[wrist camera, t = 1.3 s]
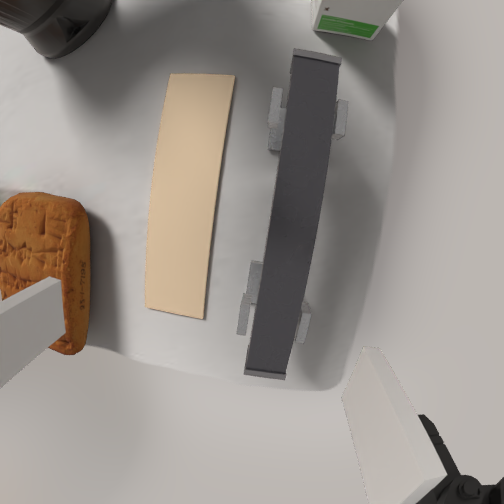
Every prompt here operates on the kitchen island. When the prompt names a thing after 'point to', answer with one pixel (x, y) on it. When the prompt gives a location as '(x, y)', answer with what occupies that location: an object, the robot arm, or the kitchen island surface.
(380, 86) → the kitchen island surface
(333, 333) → the kitchen island surface
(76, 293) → the inscribed clay slab
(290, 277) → the rail
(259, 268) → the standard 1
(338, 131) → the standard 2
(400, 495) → the robot arm
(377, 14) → the skincare box
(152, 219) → the mat
